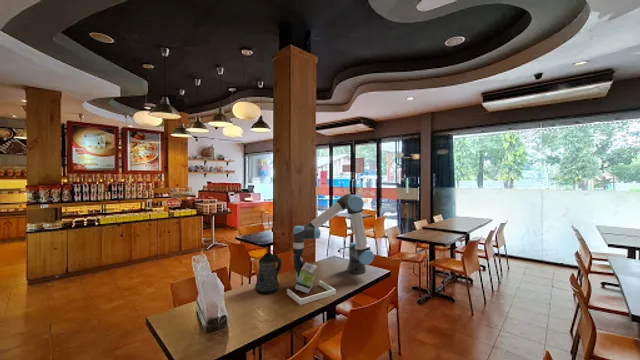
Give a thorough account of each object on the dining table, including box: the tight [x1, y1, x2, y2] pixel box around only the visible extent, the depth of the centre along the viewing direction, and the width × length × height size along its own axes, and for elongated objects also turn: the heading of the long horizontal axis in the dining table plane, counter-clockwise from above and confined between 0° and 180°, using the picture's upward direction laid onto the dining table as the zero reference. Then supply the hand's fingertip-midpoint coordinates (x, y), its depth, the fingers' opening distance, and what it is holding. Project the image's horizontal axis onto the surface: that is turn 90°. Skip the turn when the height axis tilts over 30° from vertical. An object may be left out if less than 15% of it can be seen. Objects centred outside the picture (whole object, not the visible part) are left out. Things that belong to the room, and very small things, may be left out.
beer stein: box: [254, 252, 283, 296], centre depth 188 cm, size 16×19×25 cm
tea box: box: [294, 261, 319, 294], centre depth 187 cm, size 15×10×15 cm
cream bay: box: [286, 280, 337, 306], centre depth 180 cm, size 27×18×3 cm
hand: (298, 280), depth 194 cm, fingers closed
